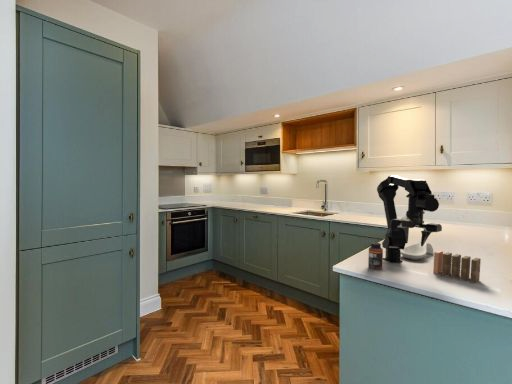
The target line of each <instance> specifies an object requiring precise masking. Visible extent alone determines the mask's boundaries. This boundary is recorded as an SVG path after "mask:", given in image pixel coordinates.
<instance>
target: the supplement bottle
mask: <svg viewBox="0 0 512 384" xmlns="http://www.w3.org/2000/svg"><path fill="white" fill-rule="evenodd" d="M381 246H382V243H381V242H375V241H372V242H371V243H370V247H368V260H367V261H368V265H367V266H368V268H370V269H372V270H376V271H377V270H382V269H383V266H384V265H383V261H384V259H383V258H384V255H383V254H384V250H383V249H384V248H383V247H381Z"/></svg>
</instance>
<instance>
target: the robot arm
mask: <svg viewBox="0 0 512 384" xmlns="http://www.w3.org/2000/svg"><path fill="white" fill-rule="evenodd" d="M399 187H401V188H403V189H404V191H406V192H408V193H407V195H406V196H405V197H406V198H407V199H408V203H407V204H408V205H407V210H406V213H405V215H404V216H403V217H402V218H398V215H397V211H396V204H395V198H396V195H397V191H398V190H399ZM376 192H377V194H378V198H379V199H380V200H381V201H382V202H383V208H384V213H385V214H384V215H385V219H386V225H387V230H386V232H385V237H384V240H383V241H382V242H381V246H382V247H381V248H382V249H385V257H383V261H387V262H389V263H392V264H393V263H402V262H403V260H401V255H402V254H401V253H400V249H404V248H405V247H406V244H408V242H409V233H410V229H414V228H418V229H423V230H421V231H420V232H421V240H420V242H421V246H423V245H424V244H425V243H427V242H426V241H427V240H428V238H429V237H430V235H431V234H432V233H439V232H442V231H443V226H442V225H441V224H440V223H435V222H434V223H433V222H430V223H429V222H428V223H425V220H424V214H425V212H431V213H433V212H436V211H438V209H439V207H440V203H439V200H438V199H437V198H436V197H435V194H432V190H431V189H430V186H429V184H428V183H427V180H426V179H410V178H406V177H402V176H400V175H389V176H387V178H386V179H384V180H382V181H380V183H379V184H378V186H377V188H376Z"/></svg>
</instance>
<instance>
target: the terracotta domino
mask: <svg viewBox="0 0 512 384" xmlns="http://www.w3.org/2000/svg"><path fill="white" fill-rule="evenodd" d="M443 254H444V251H443V250H438V251H434V254H433V268H432V269H433V271H432V273H433V274H438V275H439V274H440V273H442V265H443Z"/></svg>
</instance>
